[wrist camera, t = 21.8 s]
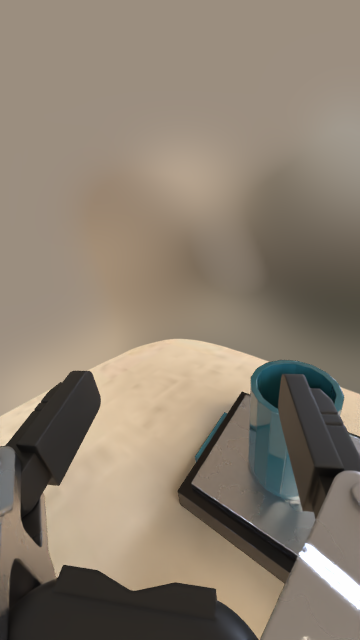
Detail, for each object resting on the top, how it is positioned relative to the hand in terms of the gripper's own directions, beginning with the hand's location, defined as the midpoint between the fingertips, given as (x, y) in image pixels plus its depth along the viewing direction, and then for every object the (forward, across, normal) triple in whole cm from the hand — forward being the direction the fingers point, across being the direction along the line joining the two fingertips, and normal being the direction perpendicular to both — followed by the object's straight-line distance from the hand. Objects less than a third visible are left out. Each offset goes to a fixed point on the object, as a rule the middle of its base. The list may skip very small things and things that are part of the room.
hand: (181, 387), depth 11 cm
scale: (+8, -7, +20) cm, 23 cm away
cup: (+8, -7, +17) cm, 20 cm away
